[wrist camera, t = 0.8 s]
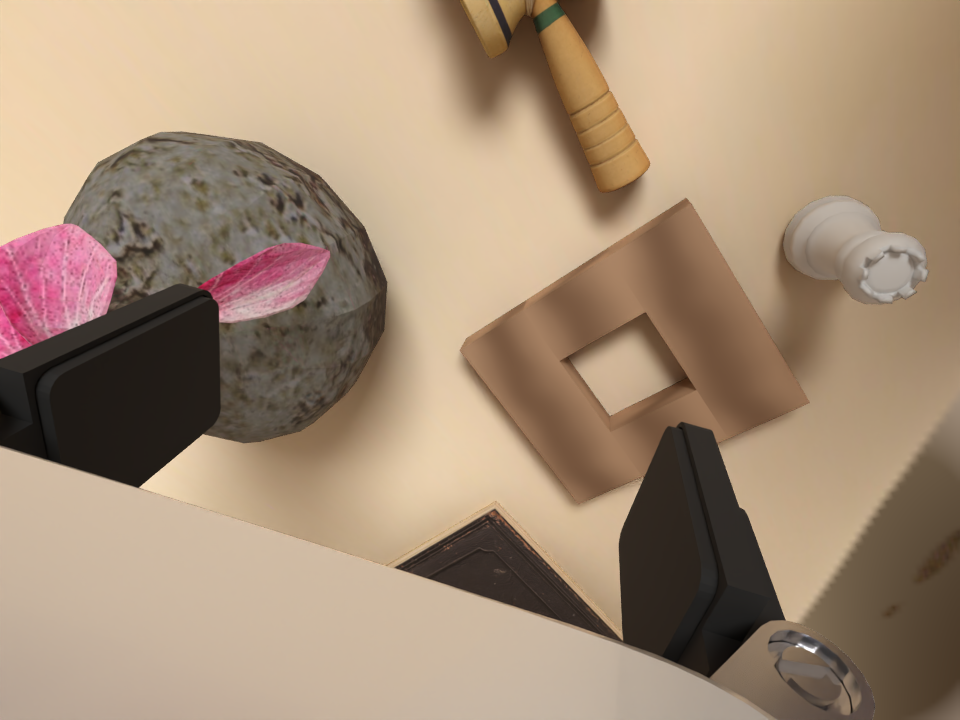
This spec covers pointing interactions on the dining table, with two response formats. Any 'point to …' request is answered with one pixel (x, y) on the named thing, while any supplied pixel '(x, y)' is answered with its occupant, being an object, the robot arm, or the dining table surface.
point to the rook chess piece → (854, 250)
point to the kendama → (568, 84)
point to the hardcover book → (505, 570)
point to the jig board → (603, 308)
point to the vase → (213, 271)
